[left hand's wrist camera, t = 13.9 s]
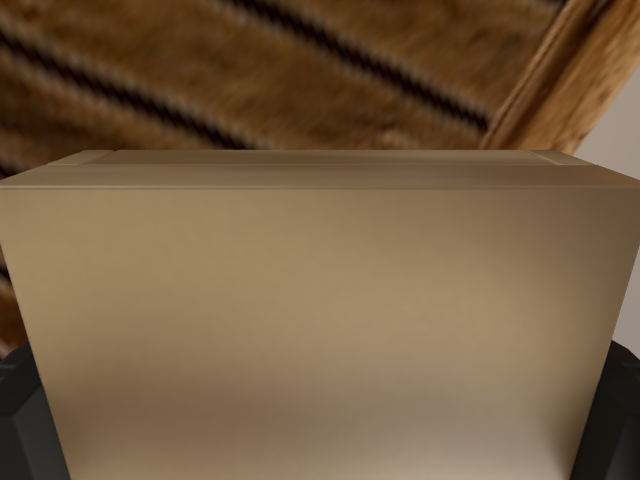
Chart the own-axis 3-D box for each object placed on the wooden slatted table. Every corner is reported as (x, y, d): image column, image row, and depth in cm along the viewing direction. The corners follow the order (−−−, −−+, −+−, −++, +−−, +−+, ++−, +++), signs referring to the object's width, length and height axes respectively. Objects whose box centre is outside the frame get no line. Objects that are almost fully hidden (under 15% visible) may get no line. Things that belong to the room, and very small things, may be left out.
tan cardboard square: (488, 487, 13) (534, 603, 10) (152, 487, 13) (105, 603, 10) (556, 149, 9) (659, 185, 6) (83, 149, 9) (-20, 185, 6)
